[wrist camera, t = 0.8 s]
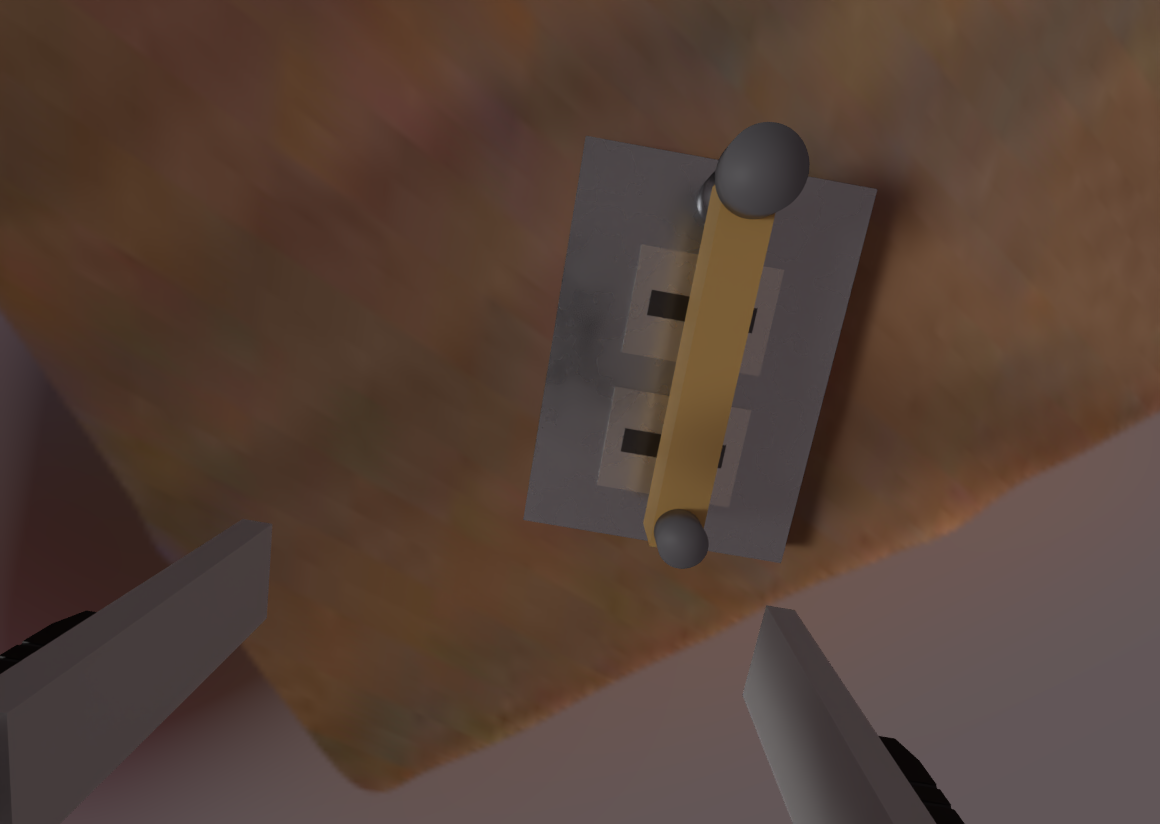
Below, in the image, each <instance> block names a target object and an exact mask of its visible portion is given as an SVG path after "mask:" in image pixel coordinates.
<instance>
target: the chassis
mask: <svg viewBox="0 0 1160 824" xmlns="http://www.w3.org/2000/svg"><path fill="white" fill-rule="evenodd" d="M718 161H719V160H715V159H710V158H704V157H699V156H693V155H688V154H682V153H677V152H671V151H666V150H661V149H655V148H650V147H644V146H639V145H633V144H628V143H622V142H617V141H611V140H606V139H601V138H595V137H590V136H586V139H585V145H584V151H583V157H582V163H581V169H580V176H579V182H578V188H577V194H576V200H575V206H574V212H573V219H572V225H571V231H570V237H569V243H568V249H567V255H566V261H565V268H564V274H563V280H562V286H561V292H560V298H559V304H558V311H557V317H556V323H555V329H554V335H553V341H552V347H551V353H550V360H549V366H548V372H547V378H546V384H545V390H544V396H543V403H542V409H541V415H540V421H539V427H538V433H537V439H536V445H535V452H534V458H533V464H532V470H531V476H530V482H529V488H528V495H527V501H526V507H525V513H524V519H523V520H528V521H534V522H540V523H546V524H552V525H558V526H564V527H569V528H575V529H581V530H587V531H593V532H599V533H605V534H611V535H617V536H623V537H629V538H635V539H641V540H647V541H648V539H647V535H646V532H645V528H644V524H643V522H644V517H645V512H646V507H647V502H648V497H649V492H650V488H651V483H652V478H653V473H654V468H655V463H656V458H657V454H658V449H659V444H660V439H661V434H662V429H663V424H664V420H665V415H666V410H667V405H668V400H669V395H670V390H671V386H672V381H673V376H674V371H675V366H676V361H677V356H678V352H679V347H680V342H681V337H682V332H683V327H684V322H685V318H686V313H687V308H688V303H689V298H690V293H691V288H692V284H693V279H694V274H695V269H696V264H697V259H698V254H699V249H700V245H701V240H702V235H703V230H704V225H705V220H706V215H707V211H708V206H709V201H710V196H711V191H712V187H713V186H714V185H715V170H716V166H717V163H718ZM876 193H877V189H873V188H868V187H862V186H857V185H851V184H846V183H841V182H835V181H830V180H824V179H819V178H813V177H808V178H807V181H806V184H805V186H804V188H803V190H802V192H801V193H800V194H799V196H798V197H797V198H796V199H795V200H794V201H793V202H792V203H791V204H790V205H788V206H787V207H785V208H783V209H782V210H780V211H778V212H776V213H775V218H774V222H773V226H772V231H771V235H770V240H769V244H768V248H767V253H766V257H765V262H764V266H763V270H762V275H761V279H760V284H759V288H758V292H757V297H756V301H755V305H754V310H753V314H752V319H751V323H750V327H749V332H748V336H747V341H746V345H745V349H744V354H743V358H742V363H741V367H740V371H739V376H738V380H737V385H736V389H735V393H734V398H733V402H732V407H731V411H730V415H729V420H728V424H727V428H726V433H725V437H724V442H723V446H722V450H721V455H720V459H719V464H718V468H717V472H716V477H715V481H714V486H713V490H712V494H711V499H710V503H709V508H708V512H707V516H706V521H705V525H704V531H705V533H706V534H707V537H708V541H709V547H708V551H713V552H718V553H724V554H730V555H736V556H742V557H748V558H754V559H760V560H766V561H772V562H778V563H781V561H782V557H783V553H784V549H785V545H786V541H787V537H788V534H789V530H790V526H791V522H792V518H793V514H794V510H795V506H796V503H797V499H798V495H799V491H800V487H801V483H802V479H803V475H804V472H805V468H806V464H807V460H808V456H809V452H810V448H811V445H812V441H813V437H814V433H815V429H816V425H817V421H818V417H819V414H820V410H821V406H822V402H823V398H824V394H825V390H826V386H827V383H828V379H829V375H830V371H831V367H832V363H833V359H834V355H835V352H836V348H837V344H838V340H839V336H840V332H841V328H842V324H843V321H844V317H845V313H846V309H847V305H848V301H849V297H850V293H851V290H852V286H853V282H854V278H855V274H856V270H857V266H858V263H859V259H860V255H861V251H862V247H863V243H864V239H865V235H866V232H867V228H868V224H869V220H870V216H871V212H872V208H873V204H874V201H875V197H876Z"/></svg>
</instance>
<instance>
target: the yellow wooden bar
mask: <svg viewBox="0 0 1160 824" xmlns="http://www.w3.org/2000/svg"><path fill="white" fill-rule="evenodd" d="M808 174H809V156H808V152H807V149H806V146H805V144H804V142H803V141H802V139H801V138H800V137H799V135H798V134H797V133H796V132H794V131H793V130H792V129H790V128H789V127H787V126H785V125H783V124H779V123H774V122H763V123H758V124H755V125H752V126H750V127H748V128H747V129H745V130H743V131H742V132H741V133H740V134H739V135H738V136H737V137H736V138H735V139H734V140H733V141H732V142H731V143H730V145H729V146H728V147H727V148H726V149H725V151H724V152H723V153H722V155H721V157H720V159H719V161H718V163H717V166H716V170H715V185H714V186H713V187H712V191H711V196H710V201H709V206H708V211H707V215H706V220H705V225H704V230H703V235H702V240H701V245H700V249H699V254H698V259H697V264H696V269H695V274H694V279H693V284H692V288H691V293H690V298H689V303H688V308H687V313H686V318H685V322H684V327H683V332H682V337H681V342H680V347H679V352H678V356H677V361H676V366H675V371H674V376H673V381H672V386H671V390H670V395H669V400H668V405H667V410H666V415H665V420H664V424H663V429H662V434H661V439H660V444H659V449H658V454H657V458H656V463H655V468H654V473H653V478H652V483H651V488H650V492H649V497H648V502H647V507H646V512H645V517H644V522H643V524H644V528H645V532H646V535H647V539H648V543H649V546H653V547H657V548H658V551H659V554H660V556H661V558H662V559H663V560H664V561H665V562H666V563H667V564H668V565H670V566H672V567H675V568H681V569H685V568H690V567H693V566H695V565H697V564H698V563H700V562H701V561H702V560H703V559H704V557H705V556H706V554H707V551H708V547H709V541H708V537H707V534H706V533H705V531H704V525H705V521H706V516H707V512H708V508H709V503H710V499H711V494H712V490H713V486H714V481H715V477H716V472H717V468H718V464H719V459H720V455H721V450H722V446H723V442H724V437H725V433H726V428H727V424H728V420H729V415H730V411H731V407H732V402H733V398H734V393H735V389H736V385H737V380H738V376H739V371H740V367H741V363H742V358H743V354H744V349H745V345H746V341H747V336H748V332H749V327H750V323H751V319H752V314H753V310H754V305H755V301H756V297H757V292H758V288H759V284H760V279H761V275H762V270H763V266H764V262H765V257H766V253H767V248H768V244H769V240H770V235H771V231H772V226H773V222H774V218H775V213H776V212H778V211H780V210H782V209H783V208H785V207H787V206H788V205H790V204H791V203H792V202H793V201H794V200H795V199H796V198H797V197H798V196H799V194H800V193H801V192H802V190H803V188H804V186H805V184H806V181H807V178H808Z"/></svg>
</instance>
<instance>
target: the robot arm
mask: <svg viewBox="0 0 1160 824" xmlns="http://www.w3.org/2000/svg"><path fill="white" fill-rule="evenodd" d="M271 537H272V524H269V523H263V522H257V521H251V520H245V519H242V520H241V521H239V522H238V523H236V524H235V525H233V526H231V527H230V528H228V529H227V530H225V531H224V532H222V533H220V534H219V535H217V536H216V537H214V538H213V539H211V540H209V541H208V542H206V543H205V544H203V545H202V546H200V547H199V548H197V549H195V550H194V551H192V552H191V553H189V554H188V555H186V556H184V557H183V558H181V559H180V560H178V561H177V562H175V563H173V564H172V565H170V566H169V567H167V568H166V569H164V570H163V571H161V572H159V573H158V574H157V575H155V576H153V577H152V578H150V579H148V580H147V581H145V582H144V583H142V584H141V585H139V586H138V587H136V588H134V589H133V590H131V591H130V592H128V593H127V594H125V595H124V596H122V597H120V598H119V599H117V600H116V601H114V602H112V603H111V604H109V605H108V606H106V607H105V608H103V609H101V610H100V611H98V612H92V611H84V612H81V613H79V614H76V615H74V616H71V617H68V618H66V619H63V620H61V621H58V622H55V623H53V624H51V625H49V626H47V627H46V628H44V629H42V630H41V631H39V632H37V633H36V634H34V635H32V636H31V637H29V638H27V639H26V640H24V641H23V643H22V644H21V645H16V646H14V647H13V648H11V649H9V650H8V651H6V652H4V653H3V654H1V655H0V824H60V823H61V822H62V821H63V820H64V819H65V818H66V817H67V816H68V815H69V814H70V813H71V812H72V811H73V810H74V809H75V808H76V807H77V806H78V805H79V804H80V803H81V802H82V801H83V800H84V799H85V798H86V797H87V796H88V795H89V794H90V793H91V792H92V791H93V790H94V789H95V788H96V787H97V786H98V785H99V784H100V783H101V782H102V781H103V780H104V779H105V778H106V777H107V776H108V775H110V774H111V772H113V770H115V769H116V768H117V767H118V766H119V765H120V764H121V762H123V761H124V760H125V759H126V758H127V757H128V756H129V755H130V754H131V753H132V752H133V751H134V750H135V749H136V748H137V747H138V745H140V743H142V742H143V741H144V740H145V739H146V738H147V737H148V736H149V735H150V734H151V733H152V732H153V731H154V730H155V729H156V728H157V727H158V726H159V725H160V724H161V723H162V722H163V721H164V720H165V719H166V718H167V717H168V716H169V715H170V714H171V713H172V712H173V711H174V710H175V709H176V708H177V707H178V706H179V705H180V704H181V703H182V702H183V701H184V700H185V699H186V698H187V697H188V696H189V695H190V694H191V693H192V692H193V691H194V690H195V689H196V688H197V687H198V686H199V685H200V684H201V683H202V682H203V681H204V680H205V679H206V678H207V677H208V676H209V675H210V674H211V673H212V672H213V671H214V670H215V669H216V668H217V667H218V666H219V665H220V664H221V663H222V662H223V661H224V660H225V659H226V658H227V657H228V656H229V655H230V654H231V653H232V652H233V651H234V650H235V649H236V648H237V647H238V646H239V645H240V644H241V643H242V642H243V641H244V640H245V639H246V638H247V637H248V636H249V635H250V634H251V633H252V632H253V631H254V630H255V629H256V628H257V627H258V626H259V625H260V624H261V623H262V622H263V621H264V620H265V619H266V618H267V603H268V586H269V570H270V553H271ZM743 697H744V700H745V702H746V705H747V708H748V710H749V713H750V715H751V718H752V721H753V723H754V726H755V728H756V731H757V733H758V736H759V739H760V741H761V744H762V746H763V749H764V751H765V754H766V757H767V759H768V762H769V764H770V767H771V769H772V772H773V774H774V777H775V780H776V782H777V785H778V787H779V790H780V792H781V795H782V798H783V800H784V803H785V805H786V808H787V810H788V813H789V815H790V818H791V821H792V823H793V824H964V822H963V821H962V820H961V818H960V817H959V815H958V814H957V813H956V811H955V810H953V809H951V804H950V803H949V801H948V800H947V799H946V797H945V796H944V794H943V793H942V792H941V790H940V789H937V787H936V783H935V782H934V780H933V779H932V778H931V776H930V775H929V773H928V772H927V771H926V769H925V768H924V767H923V765H922V764H921V762H920V761H919V760H918V759H917V758H916V757H914V755H912V754H911V753H910V752H909V751H908V750H907V749H906V748H905V747H904V746H902V745H901V744H900V743H899V742H898V741H897V740H896V739H894V738H888V737H881V736H878V735H877V733H876V732H875V730H874V729H873V728H872V726H871V725H870V723H869V721H868V720H867V718H866V717H865V715H864V714H863V712H862V711H861V709H860V708H859V706H858V705H857V703H856V702H855V700H854V699H853V697H852V696H851V694H850V693H849V691H848V690H847V688H846V687H845V685H844V684H843V682H842V681H841V679H840V678H839V676H838V675H837V673H836V672H835V670H834V669H833V667H832V666H831V664H830V663H829V661H828V660H827V658H826V657H825V655H824V654H823V652H822V651H821V649H820V648H819V646H818V645H817V643H816V642H815V640H814V639H813V637H812V636H811V634H810V633H809V631H808V630H807V628H806V627H805V625H804V624H803V622H802V620H801V619H800V617H799V616H798V615H797V613H796V611H795V610H791V609H785V608H778V607H772V606H766V609H765V613H764V616H763V620H762V624H761V628H760V631H759V635H758V639H757V643H756V647H755V650H754V654H753V658H752V662H751V665H750V669H749V673H748V676H747V680H746V684H745V688H744V691H743Z"/></svg>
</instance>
